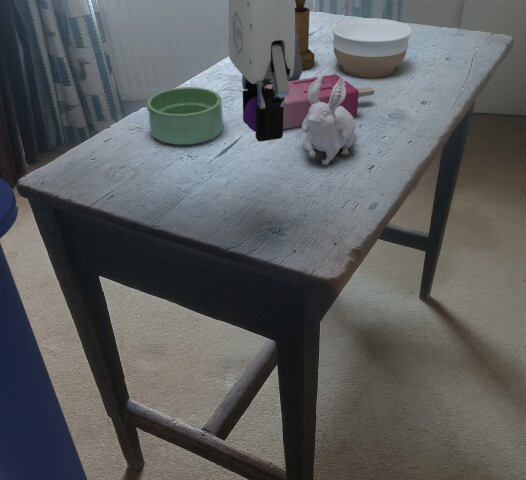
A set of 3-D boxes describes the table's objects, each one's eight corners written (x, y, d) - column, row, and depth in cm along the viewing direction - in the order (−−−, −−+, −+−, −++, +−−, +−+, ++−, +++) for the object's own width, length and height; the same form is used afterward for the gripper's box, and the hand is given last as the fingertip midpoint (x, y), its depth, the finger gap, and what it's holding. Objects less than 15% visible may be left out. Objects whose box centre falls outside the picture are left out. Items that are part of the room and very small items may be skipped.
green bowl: (158, 152, 95) (154, 119, 92) (146, 123, 104) (141, 92, 101) (231, 141, 98) (229, 109, 95) (212, 113, 107) (210, 83, 103)
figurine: (288, 166, 91) (289, 84, 83) (320, 128, 101) (323, 52, 93) (338, 175, 88) (344, 92, 80) (365, 135, 99) (373, 58, 91)
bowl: (360, 51, 133) (363, 13, 128) (421, 67, 124) (427, 27, 119) (314, 69, 124) (316, 29, 119) (376, 87, 115) (381, 45, 110)
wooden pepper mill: (290, 72, 123) (292, -24, 112) (278, 63, 128) (278, -31, 116) (319, 67, 125) (323, -28, 113) (306, 58, 130) (309, -34, 118)
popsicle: (385, 85, 103) (280, 103, 98) (382, 112, 106) (280, 130, 101) (360, 69, 110) (261, 84, 104) (358, 94, 113) (261, 111, 107)
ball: (250, 141, 69) (250, 105, 66) (240, 127, 72) (239, 91, 69) (286, 137, 70) (287, 100, 67) (274, 122, 73) (274, 87, 70)
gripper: (206, -56, 64) (214, 108, 76) (251, -23, 52) (253, 166, 64) (271, -59, 66) (269, 101, 78) (330, -29, 54) (317, 156, 65)
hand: (262, 128), depth 70 cm, fingers closed on ball, 4 cm apart
